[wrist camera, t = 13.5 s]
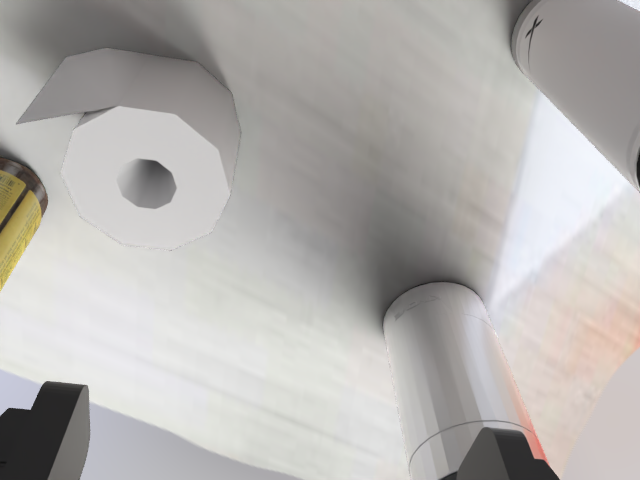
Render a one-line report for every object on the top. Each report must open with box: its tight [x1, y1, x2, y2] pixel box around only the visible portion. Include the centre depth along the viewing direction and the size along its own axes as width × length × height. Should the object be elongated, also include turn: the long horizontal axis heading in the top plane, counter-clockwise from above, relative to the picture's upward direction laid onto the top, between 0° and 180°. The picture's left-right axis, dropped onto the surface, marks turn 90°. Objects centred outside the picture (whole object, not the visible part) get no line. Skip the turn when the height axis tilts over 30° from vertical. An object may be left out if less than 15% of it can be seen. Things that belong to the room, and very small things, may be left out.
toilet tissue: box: [16, 48, 241, 251], centre depth 36 cm, size 9×13×9 cm
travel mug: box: [511, 0, 640, 193], centre depth 29 cm, size 6×7×20 cm
